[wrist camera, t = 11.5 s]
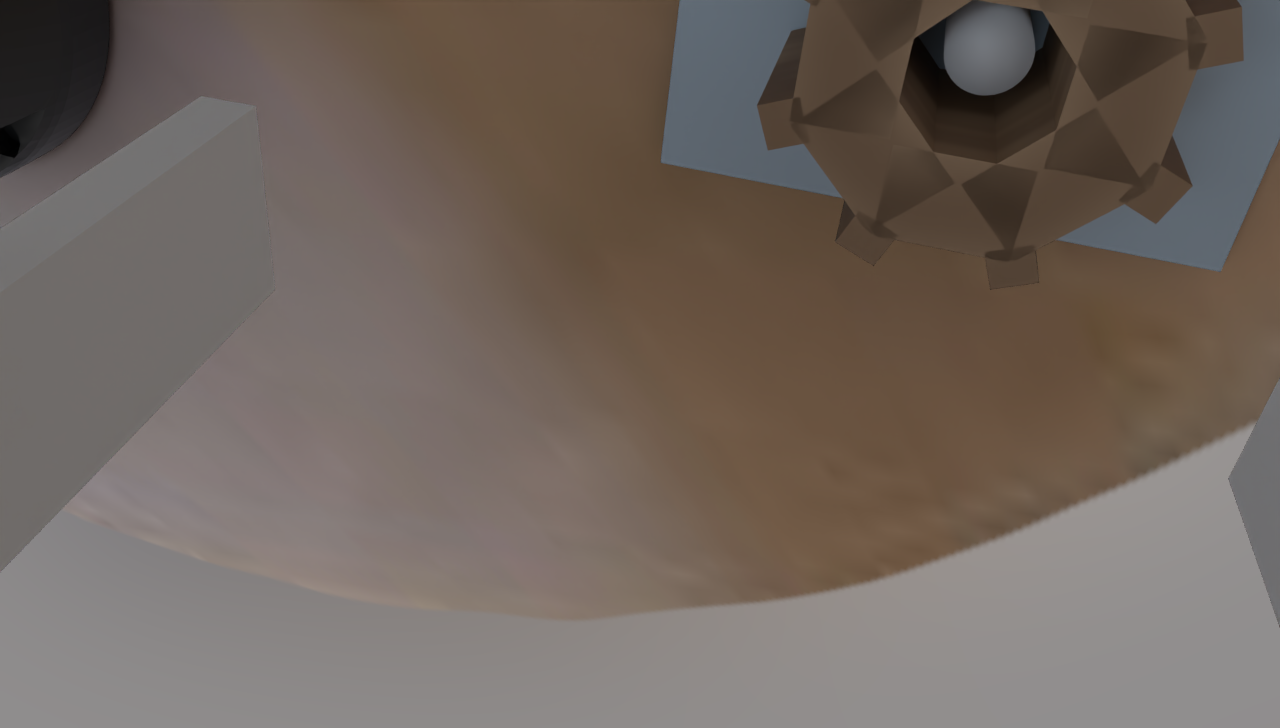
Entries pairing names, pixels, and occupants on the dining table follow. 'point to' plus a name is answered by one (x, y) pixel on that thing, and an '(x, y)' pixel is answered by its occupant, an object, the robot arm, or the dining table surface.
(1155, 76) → the gear
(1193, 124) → the gear board
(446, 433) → the dining table surface
